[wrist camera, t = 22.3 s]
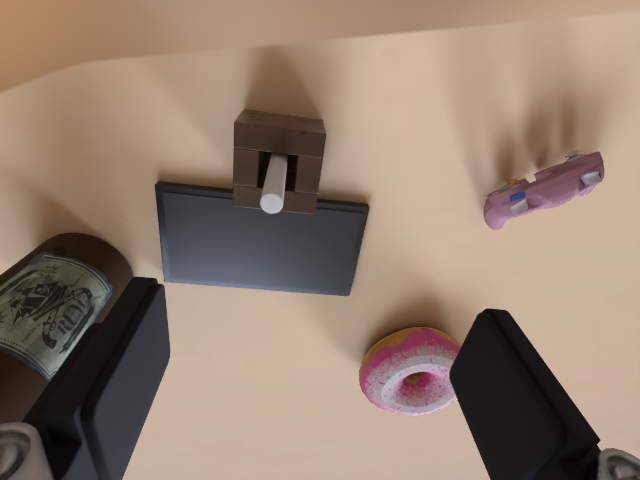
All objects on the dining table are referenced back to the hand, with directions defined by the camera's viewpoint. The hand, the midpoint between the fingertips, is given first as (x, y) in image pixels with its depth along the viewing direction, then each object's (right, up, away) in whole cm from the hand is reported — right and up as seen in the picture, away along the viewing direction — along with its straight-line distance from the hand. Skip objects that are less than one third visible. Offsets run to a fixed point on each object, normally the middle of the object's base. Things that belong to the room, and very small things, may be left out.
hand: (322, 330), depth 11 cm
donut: (+12, -13, +36) cm, 40 cm away
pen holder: (-4, +11, +21) cm, 24 cm away
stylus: (-4, +11, +21) cm, 24 cm away
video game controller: (+20, +8, +24) cm, 33 cm away
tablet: (-6, +3, +26) cm, 27 cm away
